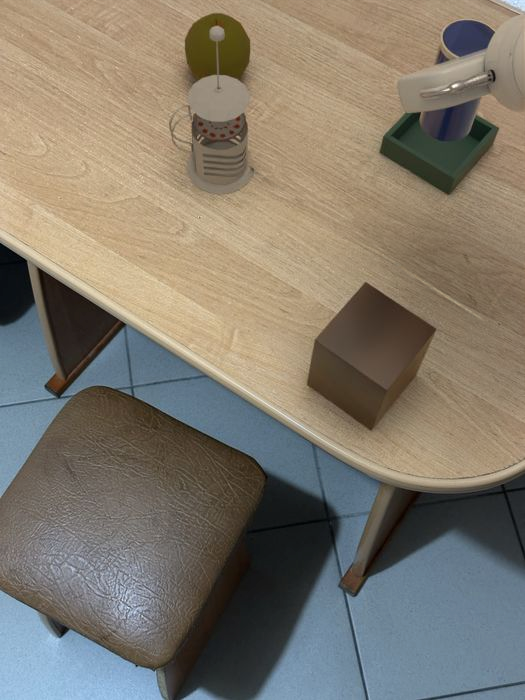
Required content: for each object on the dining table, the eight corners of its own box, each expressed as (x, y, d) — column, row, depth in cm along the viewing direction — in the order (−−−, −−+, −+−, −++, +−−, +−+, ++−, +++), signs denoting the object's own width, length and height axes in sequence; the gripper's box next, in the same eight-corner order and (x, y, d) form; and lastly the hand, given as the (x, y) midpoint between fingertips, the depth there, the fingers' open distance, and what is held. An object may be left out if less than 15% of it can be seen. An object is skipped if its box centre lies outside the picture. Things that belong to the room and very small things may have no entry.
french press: (261, 188, 119) (266, 52, 97) (180, 200, 118) (166, 65, 95) (247, 136, 123) (249, -6, 101) (169, 147, 122) (154, 6, 100)
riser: (416, 374, 106) (436, 328, 96) (371, 431, 102) (387, 390, 92) (352, 330, 109) (365, 281, 98) (306, 384, 105) (314, 339, 94)
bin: (491, 148, 124) (499, 127, 120) (447, 198, 119) (454, 179, 115) (423, 108, 127) (429, 87, 123) (378, 156, 122) (383, 135, 118)
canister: (482, 119, 97) (512, 37, 87) (453, 151, 95) (480, 70, 84) (437, 94, 99) (461, 10, 88) (408, 124, 97) (429, 42, 86)
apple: (235, 108, 126) (236, 51, 116) (176, 90, 127) (171, 32, 117) (259, 62, 130) (261, 4, 120) (201, 45, 131) (198, -14, 122)
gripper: (445, 128, 77) (379, 128, 90) (627, 66, 81) (539, 74, 94) (431, 59, 75) (365, 69, 88) (618, -2, 79) (530, 16, 92)
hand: (457, 71), depth 91 cm, fingers closed on canister, 6 cm apart
